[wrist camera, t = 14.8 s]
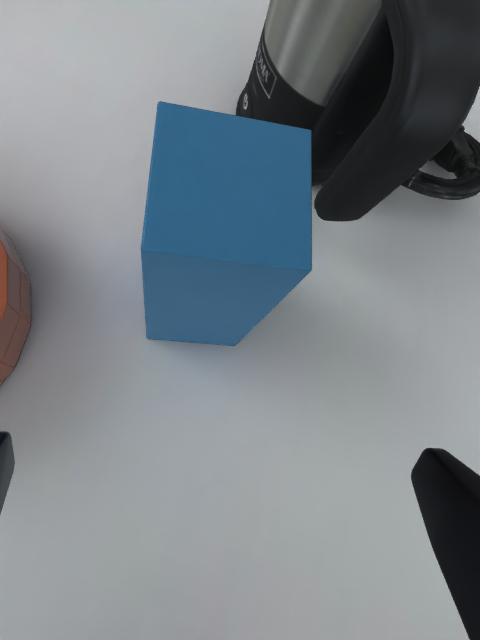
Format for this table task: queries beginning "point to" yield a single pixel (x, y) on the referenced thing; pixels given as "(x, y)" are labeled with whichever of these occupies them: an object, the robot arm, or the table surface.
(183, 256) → the blue rectangular block
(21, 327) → the terracotta bowl
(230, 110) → the table surface
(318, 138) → the milk frother
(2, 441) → the robot arm
